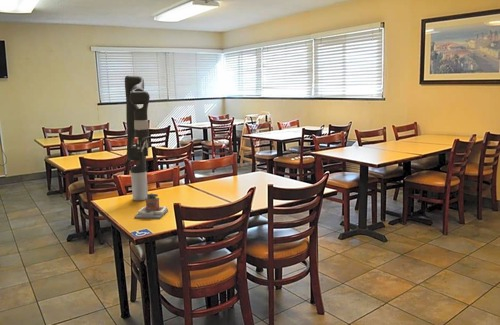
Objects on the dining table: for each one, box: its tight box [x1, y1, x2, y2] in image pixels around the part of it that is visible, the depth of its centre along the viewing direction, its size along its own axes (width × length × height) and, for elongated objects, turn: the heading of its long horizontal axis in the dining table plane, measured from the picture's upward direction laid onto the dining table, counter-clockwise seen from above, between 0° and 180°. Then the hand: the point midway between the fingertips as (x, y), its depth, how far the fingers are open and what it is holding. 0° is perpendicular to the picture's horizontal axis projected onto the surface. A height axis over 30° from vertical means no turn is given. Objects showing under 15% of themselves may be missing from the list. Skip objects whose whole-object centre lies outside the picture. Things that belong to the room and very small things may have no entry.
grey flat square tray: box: [134, 205, 169, 220], centre depth 231 cm, size 14×14×3 cm
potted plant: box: [144, 192, 160, 211], centre depth 233 cm, size 8×3×10 cm, turn 73°
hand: (143, 157), depth 235 cm, fingers open, 8 cm apart
